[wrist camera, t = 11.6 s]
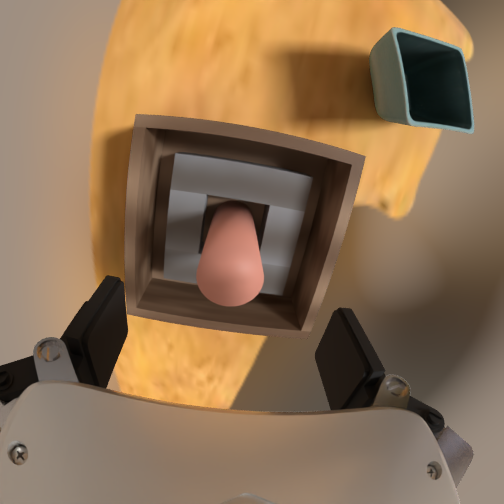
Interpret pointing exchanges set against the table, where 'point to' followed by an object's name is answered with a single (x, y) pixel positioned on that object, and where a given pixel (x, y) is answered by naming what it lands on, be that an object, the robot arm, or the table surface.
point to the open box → (263, 210)
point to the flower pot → (421, 82)
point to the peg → (231, 257)
